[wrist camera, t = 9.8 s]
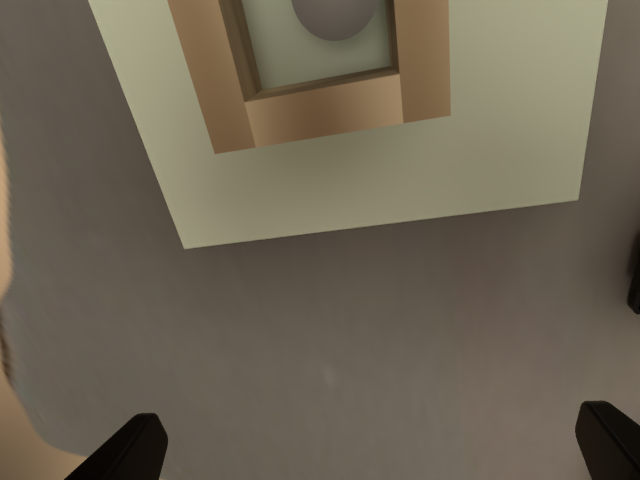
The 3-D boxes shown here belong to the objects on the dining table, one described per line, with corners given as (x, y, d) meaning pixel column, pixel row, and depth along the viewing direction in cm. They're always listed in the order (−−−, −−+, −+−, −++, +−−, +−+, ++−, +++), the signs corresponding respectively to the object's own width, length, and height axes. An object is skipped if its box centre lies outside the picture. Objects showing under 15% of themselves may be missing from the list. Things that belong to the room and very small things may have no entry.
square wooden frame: (421, -183, 11) (443, -247, 9) (433, 100, 15) (450, 115, 12) (168, -114, 12) (119, -153, 10) (236, 133, 16) (214, 154, 14)
